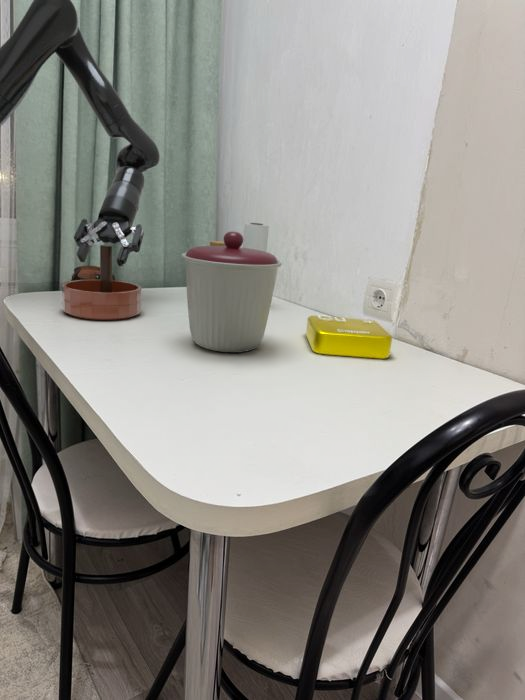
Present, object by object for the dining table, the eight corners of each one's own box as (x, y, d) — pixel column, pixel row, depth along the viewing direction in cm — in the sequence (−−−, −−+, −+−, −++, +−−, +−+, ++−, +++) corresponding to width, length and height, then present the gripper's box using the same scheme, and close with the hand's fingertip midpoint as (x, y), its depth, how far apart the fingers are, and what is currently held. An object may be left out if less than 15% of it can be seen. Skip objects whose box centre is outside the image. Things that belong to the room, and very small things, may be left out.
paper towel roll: (248, 310, 129) (255, 224, 123) (233, 305, 133) (239, 221, 127) (269, 308, 133) (277, 225, 127) (254, 303, 138) (261, 223, 132)
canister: (280, 339, 103) (290, 234, 97) (264, 365, 86) (276, 239, 80) (194, 328, 106) (199, 225, 100) (163, 351, 88) (167, 228, 83)
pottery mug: (63, 297, 126) (63, 266, 128) (83, 307, 136) (82, 278, 137) (108, 289, 125) (107, 258, 126) (125, 300, 134) (123, 271, 136)
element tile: (313, 354, 95) (316, 329, 94) (304, 334, 109) (307, 312, 108) (391, 360, 96) (395, 335, 94) (372, 339, 110) (376, 318, 109)
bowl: (48, 316, 105) (47, 287, 103) (83, 302, 121) (83, 277, 119) (125, 324, 104) (125, 295, 102) (150, 309, 120) (150, 284, 118)
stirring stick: (90, 309, 112) (90, 245, 108) (100, 305, 116) (101, 243, 113) (111, 311, 111) (111, 247, 107) (120, 307, 116) (121, 246, 112)
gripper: (85, 191, 113) (61, 247, 105) (147, 196, 112) (128, 253, 104) (95, 215, 119) (73, 269, 112) (154, 220, 118) (136, 276, 111)
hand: (100, 261), depth 108 cm, fingers open, 8 cm apart
